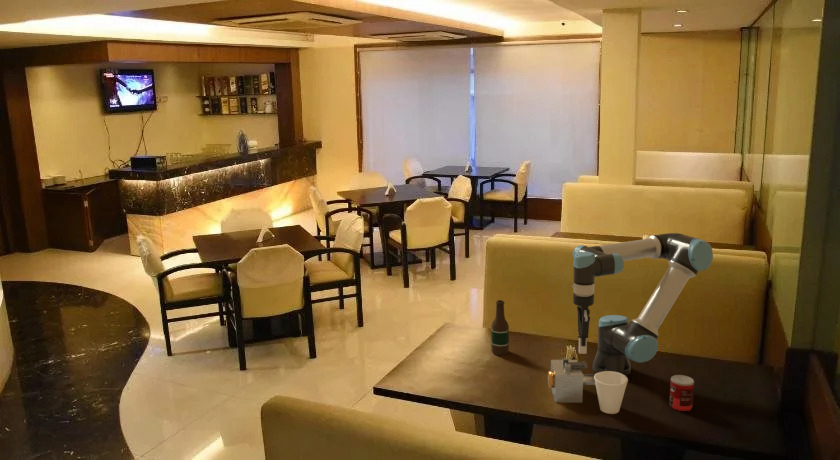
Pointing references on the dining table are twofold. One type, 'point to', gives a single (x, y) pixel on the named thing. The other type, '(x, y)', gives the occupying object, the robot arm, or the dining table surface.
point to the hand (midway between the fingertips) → (582, 352)
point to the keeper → (577, 364)
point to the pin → (587, 379)
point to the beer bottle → (500, 331)
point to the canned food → (681, 392)
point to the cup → (610, 390)
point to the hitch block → (567, 382)
